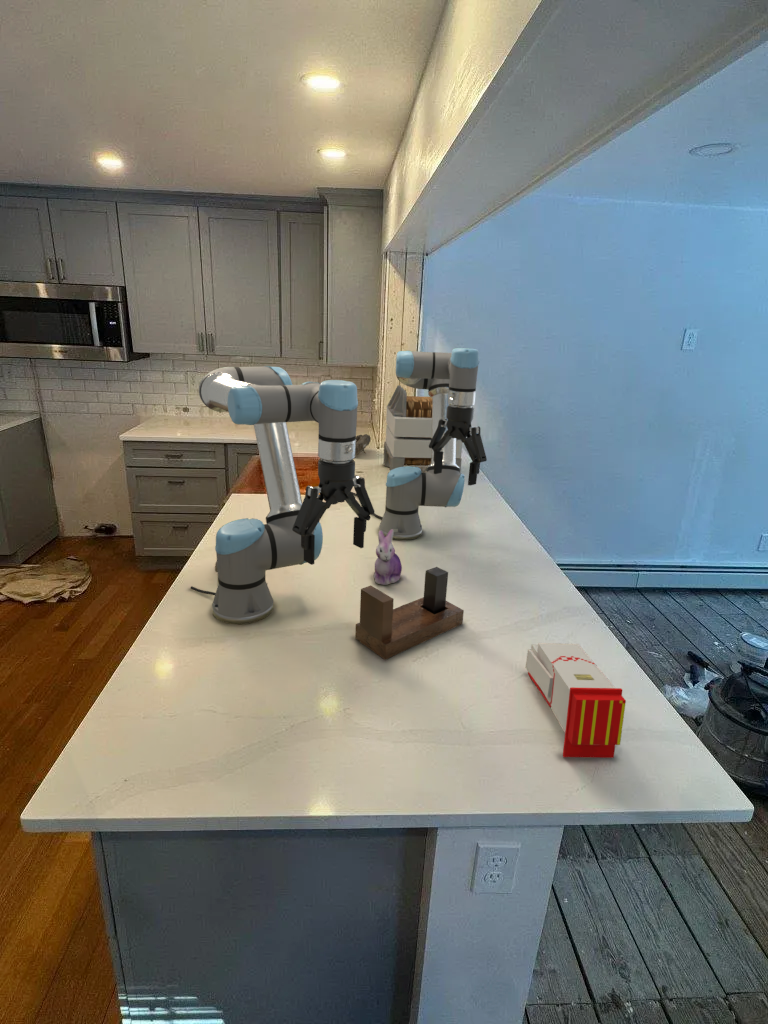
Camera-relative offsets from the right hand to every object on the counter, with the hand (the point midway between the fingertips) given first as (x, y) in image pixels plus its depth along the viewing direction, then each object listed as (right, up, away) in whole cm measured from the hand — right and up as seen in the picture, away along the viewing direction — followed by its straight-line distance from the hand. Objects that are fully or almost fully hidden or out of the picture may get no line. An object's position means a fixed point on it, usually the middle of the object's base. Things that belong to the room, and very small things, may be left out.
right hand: (454, 478), depth 166 cm
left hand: (-31, -19, -43) cm, 56 cm away
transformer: (-3, +9, +109) cm, 110 cm away
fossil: (-34, +22, +141) cm, 147 cm away
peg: (-8, -38, -21) cm, 44 cm away
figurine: (-20, -29, +1) cm, 35 cm away
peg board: (-14, -39, -26) cm, 49 cm away
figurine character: (-65, -27, +2) cm, 71 cm away
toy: (+16, -49, -51) cm, 73 cm away
